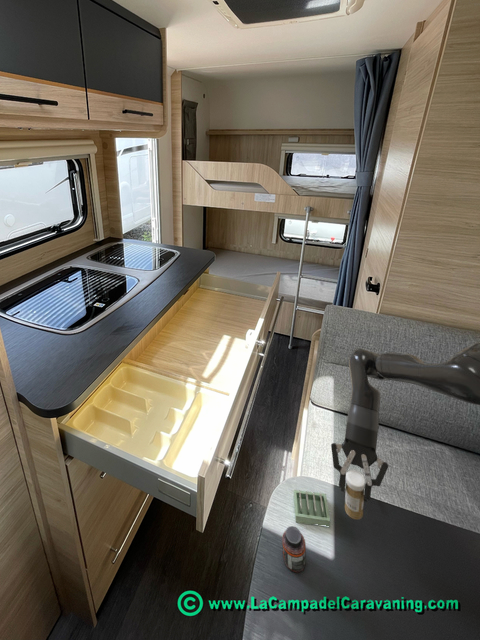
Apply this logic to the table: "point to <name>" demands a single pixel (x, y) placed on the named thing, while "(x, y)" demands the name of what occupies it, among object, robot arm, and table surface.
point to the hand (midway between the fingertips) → (353, 495)
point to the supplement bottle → (294, 549)
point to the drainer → (311, 509)
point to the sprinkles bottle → (354, 494)
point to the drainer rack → (313, 504)
